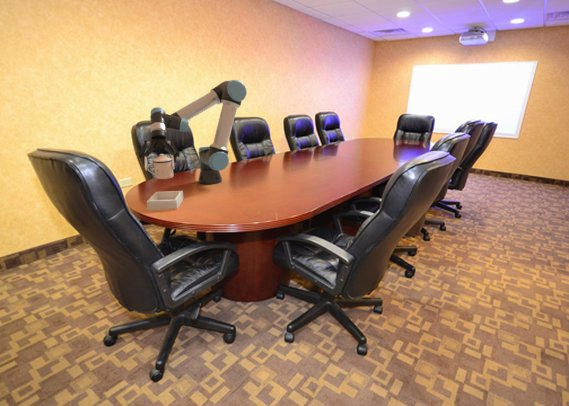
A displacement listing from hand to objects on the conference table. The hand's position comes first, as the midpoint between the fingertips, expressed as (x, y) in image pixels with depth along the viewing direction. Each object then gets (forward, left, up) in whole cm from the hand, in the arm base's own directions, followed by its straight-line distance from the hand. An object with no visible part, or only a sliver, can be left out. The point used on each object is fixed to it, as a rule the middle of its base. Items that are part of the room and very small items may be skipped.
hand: (159, 168), depth 153 cm
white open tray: (0, -2, -19) cm, 19 cm away
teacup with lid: (0, -2, -5) cm, 6 cm away
